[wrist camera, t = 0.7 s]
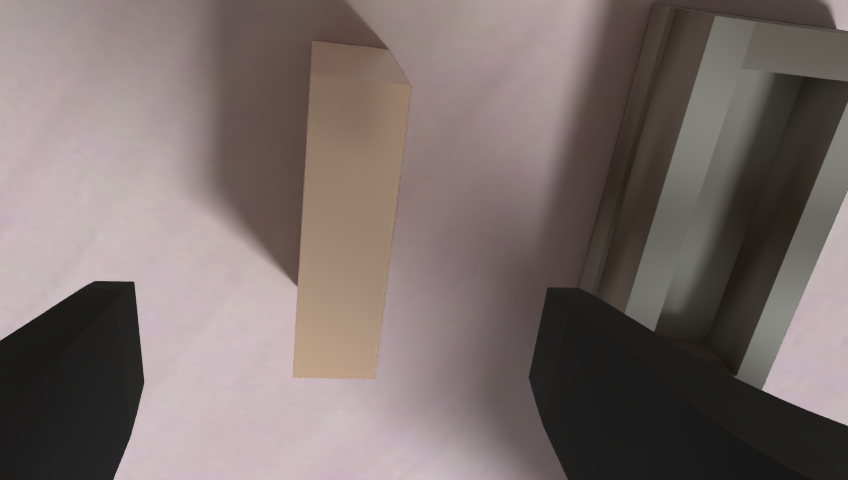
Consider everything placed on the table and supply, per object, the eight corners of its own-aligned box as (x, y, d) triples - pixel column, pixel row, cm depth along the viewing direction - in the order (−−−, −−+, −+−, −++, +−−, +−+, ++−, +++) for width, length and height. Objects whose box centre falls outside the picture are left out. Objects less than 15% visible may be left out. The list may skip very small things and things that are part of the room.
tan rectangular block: (362, 288, 22) (374, 378, 18) (297, 285, 22) (292, 377, 17) (388, 49, 19) (411, 85, 14) (312, 40, 18) (311, 75, 14)
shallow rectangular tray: (713, 354, 25) (760, 404, 23) (561, 350, 24) (592, 402, 22) (838, 29, 20) (916, 44, 18) (653, 3, 19) (707, 15, 16)
